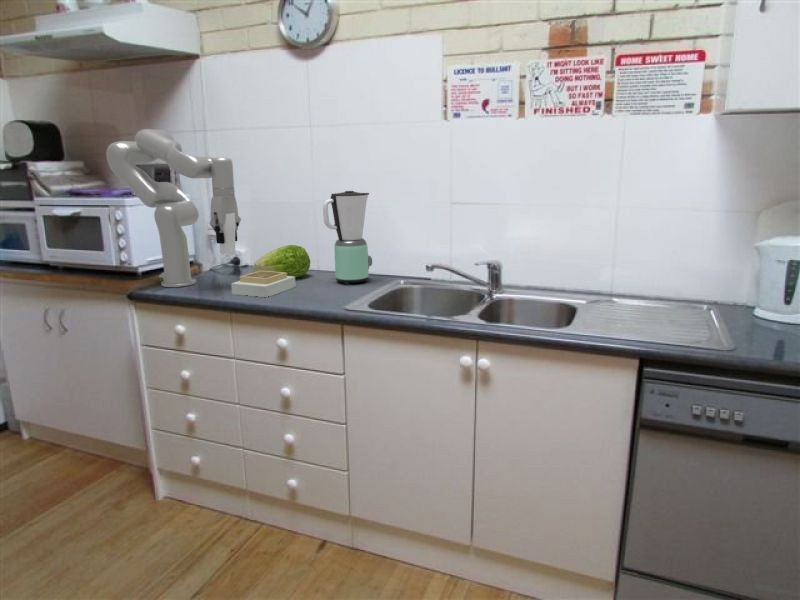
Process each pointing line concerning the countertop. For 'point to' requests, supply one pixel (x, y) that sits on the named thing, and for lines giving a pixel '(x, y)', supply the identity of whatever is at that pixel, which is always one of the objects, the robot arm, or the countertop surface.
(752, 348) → the countertop surface
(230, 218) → the drinking glass
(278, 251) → the lettuce
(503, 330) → the countertop surface
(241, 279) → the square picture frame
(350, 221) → the green blender
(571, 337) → the countertop surface
